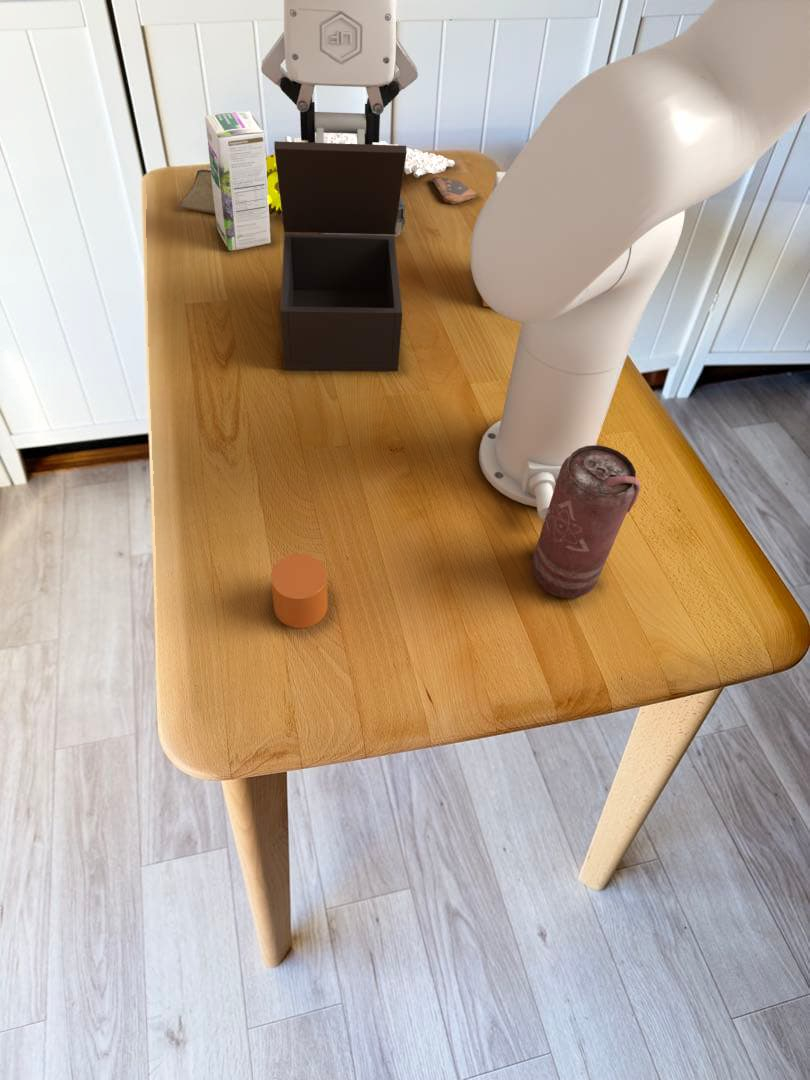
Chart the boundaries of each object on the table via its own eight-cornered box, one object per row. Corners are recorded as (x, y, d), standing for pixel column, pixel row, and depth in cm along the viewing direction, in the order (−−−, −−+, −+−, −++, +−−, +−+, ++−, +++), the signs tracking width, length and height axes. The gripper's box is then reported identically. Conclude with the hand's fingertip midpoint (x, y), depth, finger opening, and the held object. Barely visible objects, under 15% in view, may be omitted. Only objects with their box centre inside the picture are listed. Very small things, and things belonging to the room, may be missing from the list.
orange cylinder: (327, 628, 69) (327, 598, 66) (273, 629, 69) (269, 599, 65) (327, 584, 72) (326, 553, 69) (275, 584, 72) (271, 553, 68)
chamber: (398, 371, 91) (402, 312, 85) (284, 370, 90) (280, 311, 83) (391, 293, 100) (394, 235, 94) (287, 291, 99) (284, 232, 92)
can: (597, 607, 72) (643, 505, 61) (527, 593, 73) (560, 489, 62) (601, 555, 76) (645, 449, 65) (534, 541, 77) (566, 435, 66)
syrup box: (215, 229, 106) (201, 114, 95) (259, 221, 108) (249, 108, 97) (229, 252, 103) (215, 137, 92) (273, 244, 105) (265, 129, 93)
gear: (287, 135, 104) (243, 173, 108) (281, 142, 102) (236, 181, 105) (327, 188, 108) (283, 223, 112) (322, 197, 105) (277, 232, 109)
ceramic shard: (257, 176, 107) (253, 173, 106) (252, 219, 108) (249, 217, 107) (187, 166, 108) (182, 163, 106) (183, 209, 109) (178, 207, 108)
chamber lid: (406, 152, 78) (405, 103, 79) (274, 148, 77) (274, 98, 78) (394, 234, 93) (393, 192, 94) (284, 232, 92) (283, 189, 93)
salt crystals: (458, 169, 121) (460, 158, 120) (421, 184, 104) (423, 170, 104) (334, 136, 124) (335, 124, 123) (279, 145, 107) (280, 132, 107)
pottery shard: (479, 192, 114) (447, 195, 112) (477, 202, 115) (446, 205, 113) (458, 171, 118) (427, 173, 116) (457, 180, 119) (426, 183, 117)
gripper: (235, -58, 66) (253, 164, 80) (444, -47, 67) (426, 168, 81) (240, -86, 70) (256, 127, 84) (436, -76, 72) (420, 133, 86)
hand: (340, 145), depth 83 cm, fingers closed on chamber lid, 5 cm apart
